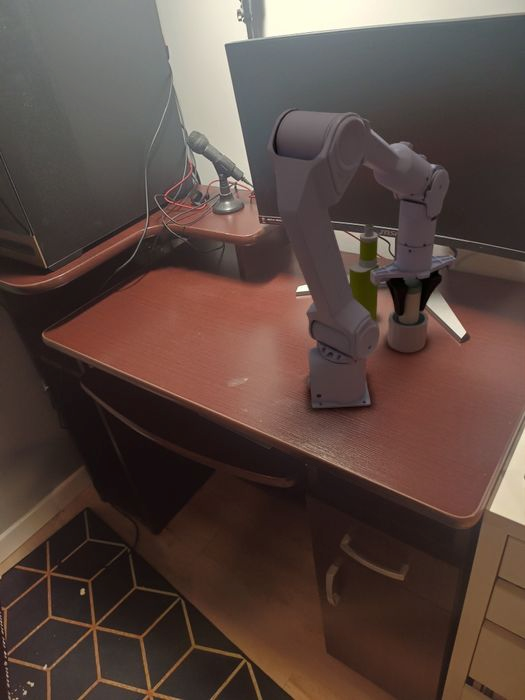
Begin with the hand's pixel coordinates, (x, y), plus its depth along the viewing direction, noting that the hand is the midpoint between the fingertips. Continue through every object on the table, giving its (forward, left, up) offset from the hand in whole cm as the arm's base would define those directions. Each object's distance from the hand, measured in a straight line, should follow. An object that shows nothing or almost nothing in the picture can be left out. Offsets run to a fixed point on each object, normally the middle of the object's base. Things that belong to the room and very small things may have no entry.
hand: (408, 310), depth 83 cm
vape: (-7, +8, -7) cm, 13 cm away
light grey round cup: (0, 0, -7) cm, 7 cm away
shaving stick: (0, 0, -2) cm, 2 cm away
